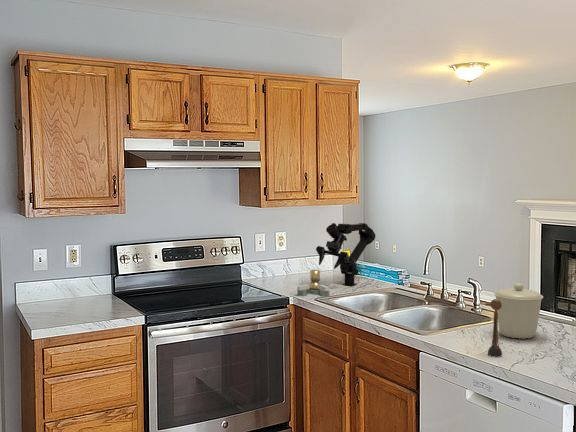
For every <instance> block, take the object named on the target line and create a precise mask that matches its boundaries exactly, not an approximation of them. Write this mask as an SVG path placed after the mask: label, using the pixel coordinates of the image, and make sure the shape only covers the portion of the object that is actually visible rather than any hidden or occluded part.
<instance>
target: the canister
mask: <svg viewBox="0 0 576 432" xmlns="http://www.w3.org/2000/svg"><path fill="white" fill-rule="evenodd" d="M494 296H495V299H498V300H500V301H501V303H502V307H501V309H499V310H497V313H498V329H499V330H498V331H499V332H500V334H501V335H502V336H505V337H506V336H507V338H510V337H511V339H515V338H519V339H518V340H526V339H525V338H528V339H532V338H533V337H535V335H536V334H537V330H538V325H539V319H540V313H541V305H542V304H541V303H542V300H543V299H544V296H543V295H542V294H541V293H539V292H537V291H536V290H533V289H528V288H527V289H525V288H524V285H523V284H522V283H521V282H516V283H515V284H514V285H513V287H512V288H511V287H510V288H509V287H508V288H501V289H499V290H497V291H495V292H494ZM520 338H521V339H520Z"/></svg>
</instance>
